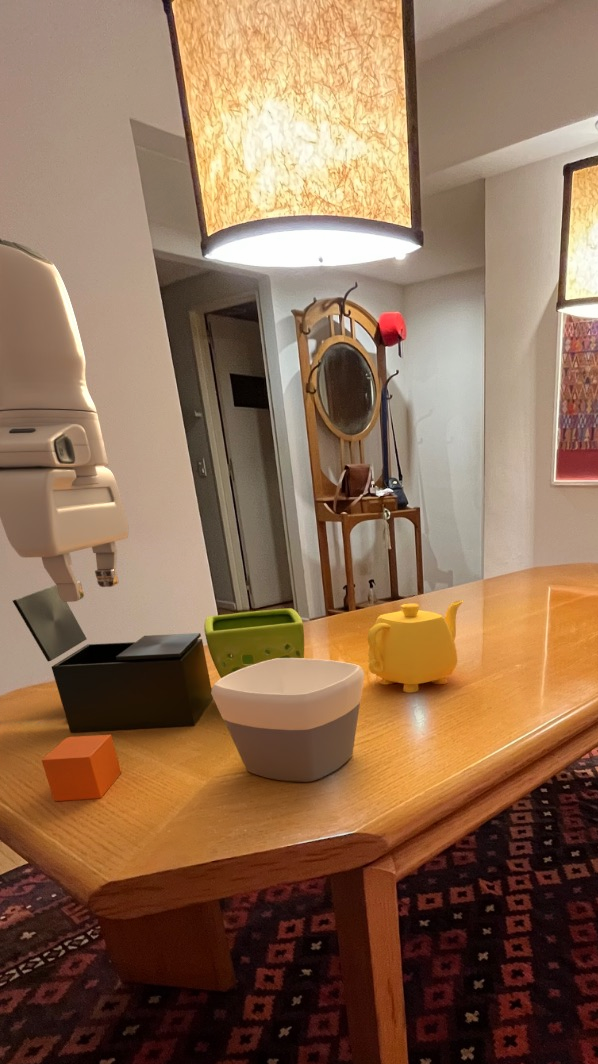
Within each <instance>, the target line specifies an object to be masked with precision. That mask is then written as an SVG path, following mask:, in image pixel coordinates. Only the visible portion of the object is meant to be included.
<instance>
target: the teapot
mask: <svg viewBox="0 0 598 1064" xmlns="http://www.w3.org/2000/svg"><path fill="white" fill-rule="evenodd" d="M463 602H464V600H462V599H461V600H456V601H453V602H452V603H451V604H450V605H448V607H447V609H446V612H445V615H444V616H443V615H442V614H441V613H437V612H433V611H427V610H420V609H419V608H420V604H418V603H405V604H401V605H400V608H401V610H399V611H393V612H388V613H384V614H380V615H379V616H378V617H377V619H376V621H375V623H374V625H373V626H372V627H371V628H370V629H369V630H368V633H367V644H368V671H369V672H370V673H371V674H373V675H376V676H377V677H379V678H380V679H381V681H380V684H381V685H384V686H385V685H388V686H389V685H394V684H395V683H398V684H403V686H402V687H403V688H402V691H403V692H405V693H416V692H418V691H419V684H424V683H428V682H431V683H432V684H434V685H445V684H448V680H447V679H446V678H447V677H450V676H451V675H452V674H453V672H454V671H455V669H456V667H457V665H458V653H457V645H456V642H455V640H456V635H457V625H456V624H457V622H456V618H457V612H458V610H459V607H460V606H461V605H462V604H463Z"/></svg>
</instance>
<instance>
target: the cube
mask: <svg viewBox="0 0 598 1064" xmlns="http://www.w3.org/2000/svg"><path fill="white" fill-rule="evenodd" d="M41 763H42V766H43V770H44V773H45V776H46V779H47V782H48V784H49V788H50V791H51V795H52V797H53V801H54V802H65V801H78V800H79V801H81V800H94V799H102V798H103V797H104V795H105V794H106V793H107V791H108V790H109V789H110V788H111V787H112V785H113V784H114V783H115V782H116V780H118V778H119V777H120V776H121V774H122V770H121V767H120V764H119V759H118V754H117V751H116V747H115V743H114V740H113V737H112V734H97V735H83V736H82V735H80V736H67V737H66V738H65V739H63V740H62V741H61V742H60V743H59V744H58V745H56V747H54V748H52V750H51V751H50V752H49V753H48V754H47V755H45V756H44V757H43V758H42V759H41Z"/></svg>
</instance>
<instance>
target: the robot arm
mask: <svg viewBox="0 0 598 1064" xmlns="http://www.w3.org/2000/svg"><path fill="white" fill-rule="evenodd" d="M81 339H82V338H81V335H80V331H79V328H78V323H77V319H76V316H75V312H74V308H73V305H72V303H71V300H70V296H69V293H68V291H67V289H66V286H65V283H64V281H63V278H62V276H61V274H60V272H59V271H58V269H57V268H56V266H55V264H54V262H52V261H51V260H49V259H48V258H47V256H45V255H44V254H42V253H41V252H39V251H37V250H35V249H32V248H31V247H28V246H26V245H22V244H20V243H17V242H14V241H9V240H6V239H2V238H0V520H1V521H0V522H1V524H2V527H3V530H4V533H5V536H6V538H7V540H8V543H9V545H10V546H11V548H13V550H14V551H15V553H16V554H17V555H18V556H19V557H21V558H41V561H42V564H43V568H44V569H45V571H46V572H47V574H48V575H49V576H50V577H49V578H50V579H52V581H53V583H54V585H56V586H57V590H58V593H59V597H60V599H61V600H62V601H64V602H67V603H75V602H79V601H80V600H82V599H84V597H85V593H84V591H83V585H82V582H81V580H77V578H76V576H75V574H74V572H73V569H72V567H71V565H73V561H72V558H71V554H70V553H74V552H77V551H81V550H85V549H89V548H90V549H91V550H92V553H93V554H95V563H96V570H94V573H95V578H96V582H97V585H98V586H99V587H101V588H112V587H114V586H116V585H117V586H118V584H119V581H120V580H119V576H118V572H117V560H118V559H117V558H118V550H117V545H116V542H117V541H122V540H125V539H127V538H129V522H128V517H127V514H126V510H125V505H124V502H123V499H122V495H121V492H120V489H119V484H118V483H117V480H116V478H115V475H114V474H113V472H112V471H111V470H110V469H109V468H108V467H107V466H109V459H108V455H107V451H106V447H105V441H104V438H103V432H102V430H101V428H102V427H101V424H100V420H99V415H98V411H97V407H96V405H95V403H94V401H93V399H92V397H91V395H90V392H89V389H88V385H87V379H86V365H87V363H86V357H85V351H84V348H83V347H84V346H83V343H82V340H81Z"/></svg>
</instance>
